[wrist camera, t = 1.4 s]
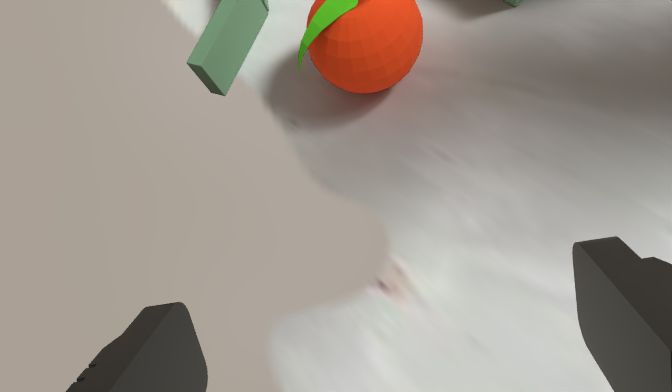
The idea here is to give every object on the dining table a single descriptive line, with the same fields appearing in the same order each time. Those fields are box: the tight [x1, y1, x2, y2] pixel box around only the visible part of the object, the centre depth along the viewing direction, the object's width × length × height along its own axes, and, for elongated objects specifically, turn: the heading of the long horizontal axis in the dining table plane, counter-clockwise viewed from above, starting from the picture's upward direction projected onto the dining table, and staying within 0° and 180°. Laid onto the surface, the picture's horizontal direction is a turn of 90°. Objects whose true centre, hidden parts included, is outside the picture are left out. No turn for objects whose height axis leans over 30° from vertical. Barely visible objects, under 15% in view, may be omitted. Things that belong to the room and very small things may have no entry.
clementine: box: [298, 0, 423, 94], centre depth 31 cm, size 8×7×7 cm
